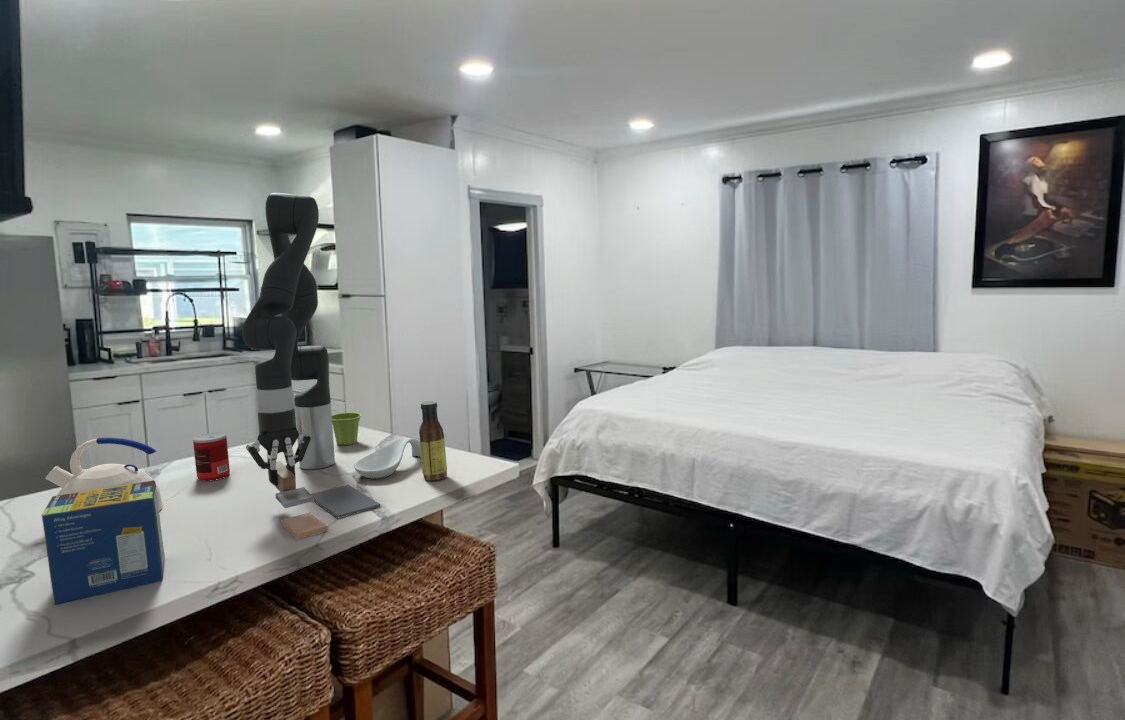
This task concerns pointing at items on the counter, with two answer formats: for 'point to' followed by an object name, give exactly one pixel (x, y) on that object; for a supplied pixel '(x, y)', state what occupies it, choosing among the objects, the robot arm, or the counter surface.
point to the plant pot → (346, 427)
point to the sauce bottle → (432, 444)
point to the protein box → (103, 541)
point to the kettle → (100, 471)
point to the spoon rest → (386, 458)
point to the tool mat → (344, 500)
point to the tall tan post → (290, 488)
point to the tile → (304, 525)
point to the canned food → (211, 456)
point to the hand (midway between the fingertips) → (282, 482)
